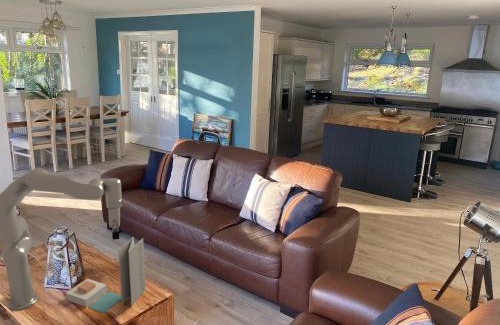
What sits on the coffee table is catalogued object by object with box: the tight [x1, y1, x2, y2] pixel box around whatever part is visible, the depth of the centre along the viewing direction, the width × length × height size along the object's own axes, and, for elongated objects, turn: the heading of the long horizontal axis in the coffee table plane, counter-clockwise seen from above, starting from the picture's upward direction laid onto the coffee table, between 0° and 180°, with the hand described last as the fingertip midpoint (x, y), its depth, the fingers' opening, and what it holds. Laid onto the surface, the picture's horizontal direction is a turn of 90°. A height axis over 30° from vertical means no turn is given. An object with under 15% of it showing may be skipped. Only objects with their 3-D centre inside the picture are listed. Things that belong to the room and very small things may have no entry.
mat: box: [87, 291, 122, 314], centre depth 187 cm, size 10×14×1 cm
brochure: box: [117, 236, 146, 307], centre depth 188 cm, size 14×6×30 cm, turn 168°
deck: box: [65, 278, 108, 308], centre depth 191 cm, size 13×14×4 cm
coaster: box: [77, 280, 96, 294], centre depth 191 cm, size 6×6×2 cm
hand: (116, 234), depth 191 cm, fingers open, 9 cm apart
